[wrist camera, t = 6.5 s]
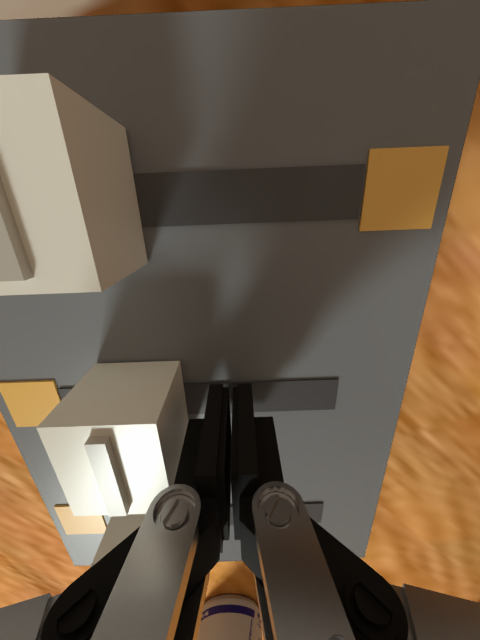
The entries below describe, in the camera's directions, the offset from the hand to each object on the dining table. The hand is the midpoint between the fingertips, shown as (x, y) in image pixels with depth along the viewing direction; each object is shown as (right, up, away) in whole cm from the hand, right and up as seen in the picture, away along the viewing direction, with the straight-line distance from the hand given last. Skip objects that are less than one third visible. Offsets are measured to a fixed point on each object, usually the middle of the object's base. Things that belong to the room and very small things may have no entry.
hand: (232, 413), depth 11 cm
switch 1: (-5, +7, -2) cm, 9 cm away
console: (-1, +1, +3) cm, 4 cm away
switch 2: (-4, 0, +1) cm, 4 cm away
